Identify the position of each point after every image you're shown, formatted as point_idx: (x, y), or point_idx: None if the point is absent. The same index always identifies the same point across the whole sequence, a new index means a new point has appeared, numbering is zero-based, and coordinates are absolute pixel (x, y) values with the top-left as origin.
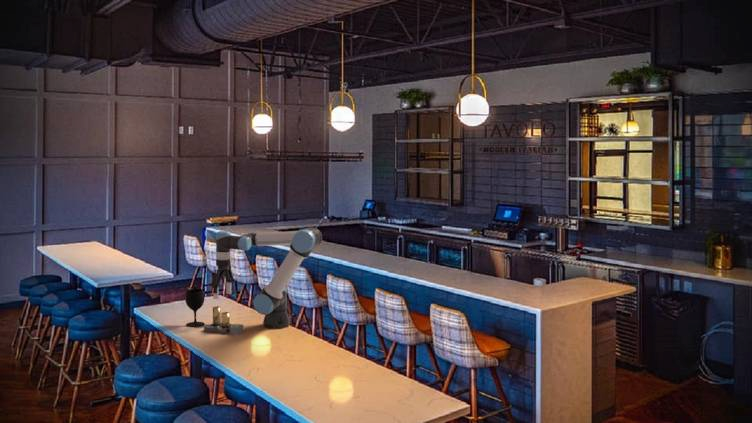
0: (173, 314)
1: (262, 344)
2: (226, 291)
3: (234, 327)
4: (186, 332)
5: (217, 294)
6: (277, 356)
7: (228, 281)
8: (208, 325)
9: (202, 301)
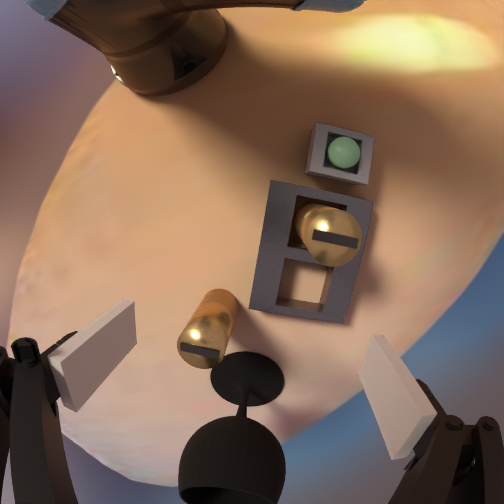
0: (160, 449)
1: (430, 37)
2: (127, 352)
3: (371, 155)
4: (356, 365)
5: (401, 363)
6: (479, 13)
7: (52, 398)
8: (315, 315)
9: (242, 433)
